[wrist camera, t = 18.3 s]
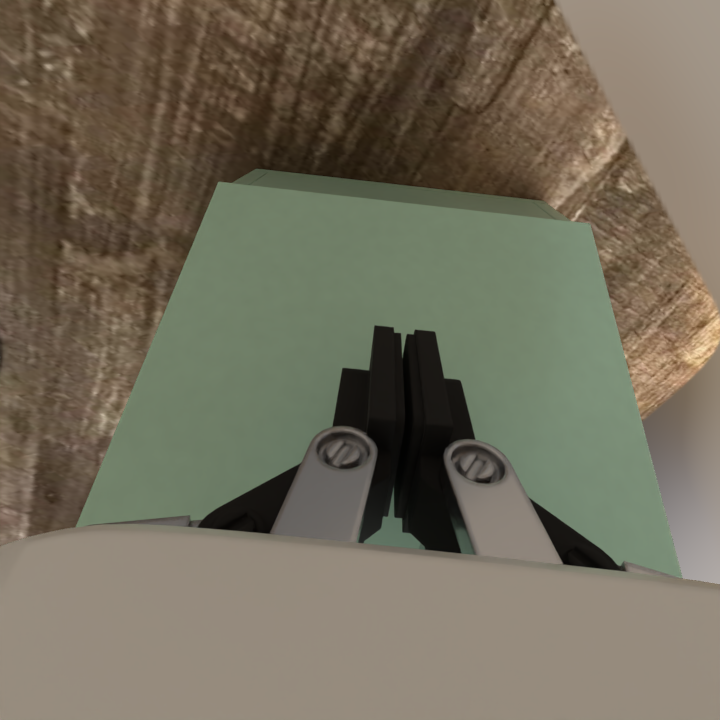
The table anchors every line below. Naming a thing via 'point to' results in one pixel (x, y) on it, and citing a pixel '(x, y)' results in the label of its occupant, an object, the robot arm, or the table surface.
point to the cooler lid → (353, 350)
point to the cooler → (400, 193)
